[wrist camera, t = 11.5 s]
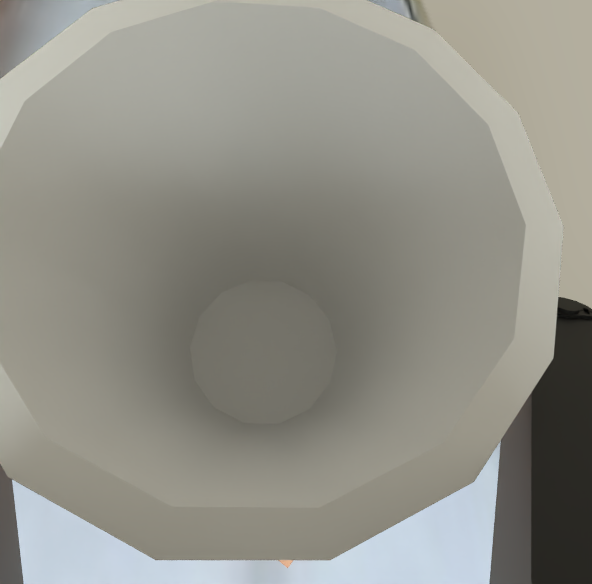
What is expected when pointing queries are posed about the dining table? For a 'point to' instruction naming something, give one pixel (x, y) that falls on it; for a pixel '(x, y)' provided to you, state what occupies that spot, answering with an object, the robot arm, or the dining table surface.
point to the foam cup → (263, 274)
